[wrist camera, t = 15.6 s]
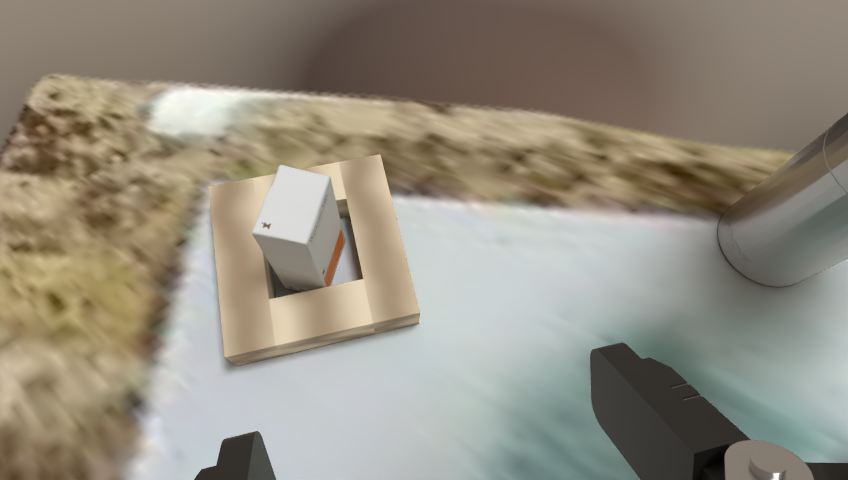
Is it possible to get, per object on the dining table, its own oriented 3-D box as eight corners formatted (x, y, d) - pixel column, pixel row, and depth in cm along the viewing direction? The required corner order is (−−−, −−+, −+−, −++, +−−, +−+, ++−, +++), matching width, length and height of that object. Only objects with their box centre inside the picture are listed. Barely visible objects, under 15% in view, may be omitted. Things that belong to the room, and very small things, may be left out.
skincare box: (328, 299, 47) (306, 247, 36) (283, 288, 47) (247, 234, 36) (347, 240, 49) (331, 174, 39) (304, 230, 50) (277, 162, 39)
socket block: (381, 173, 53) (380, 154, 49) (418, 323, 46) (419, 312, 43) (220, 204, 50) (208, 186, 47) (237, 365, 44) (224, 357, 41)
